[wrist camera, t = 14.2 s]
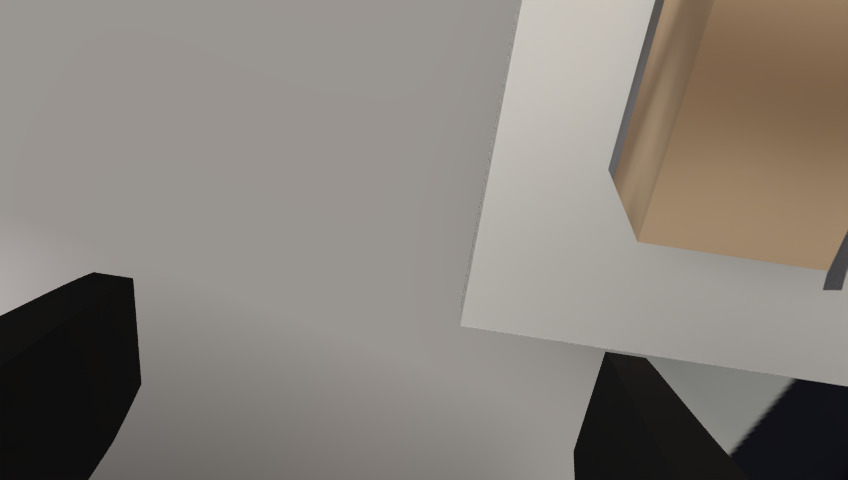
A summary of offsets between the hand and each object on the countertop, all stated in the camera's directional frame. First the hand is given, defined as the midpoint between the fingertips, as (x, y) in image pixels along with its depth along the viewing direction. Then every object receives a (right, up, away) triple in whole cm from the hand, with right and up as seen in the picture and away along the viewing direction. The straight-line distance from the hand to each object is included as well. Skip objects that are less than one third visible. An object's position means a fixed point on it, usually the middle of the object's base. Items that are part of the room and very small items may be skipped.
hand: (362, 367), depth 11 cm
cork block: (+8, +7, +6) cm, 12 cm away
